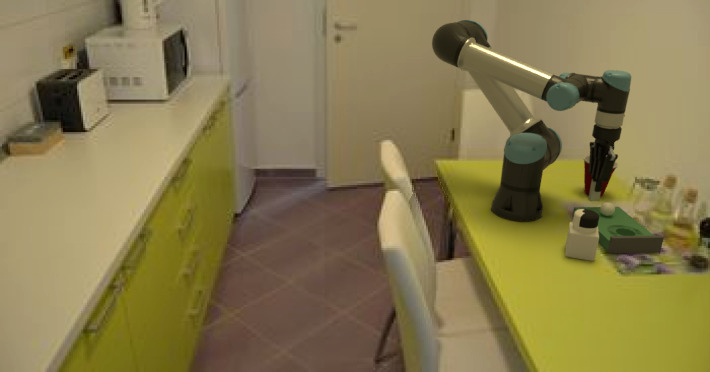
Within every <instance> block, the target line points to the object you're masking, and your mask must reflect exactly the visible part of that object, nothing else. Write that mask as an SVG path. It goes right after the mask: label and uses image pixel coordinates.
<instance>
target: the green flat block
mask: <svg viewBox="0 0 710 372" xmlns="http://www.w3.org/2000/svg"><path fill="white" fill-rule="evenodd" d="M614 207H615V212H614V213H613V214H612V215H610V216H605V215H603V214H602V213H601V212H600V206H578V207H577V206H576V207H575V206H574V207H573V211H572V217H573V218H574V213H575V211H576V210H579V209H589V210H592V211H594V212H596V213H598V215H599V221H598V232H599V241H598V244H600V245H601V246H602V248H603V249H605V250H606V251H607V252H608V253H609V254H650V253H651V254H653V253H656V254H657V253H659V254H660V253H661V251H662V245H663V243H664V236H663V235H661V234H660V235H657V234H656V235H655V234H653V233H652V232H650V231H649V230H647V228H645V227H644V226H643V225H642V224H641V223H639V222H638V221H637V220H636V219H635V218H633V217H632V216H631V215H630V214H628V213H627V212H626V211H625V210H624V209H622V208H621V207H620V206H614Z"/></svg>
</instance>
